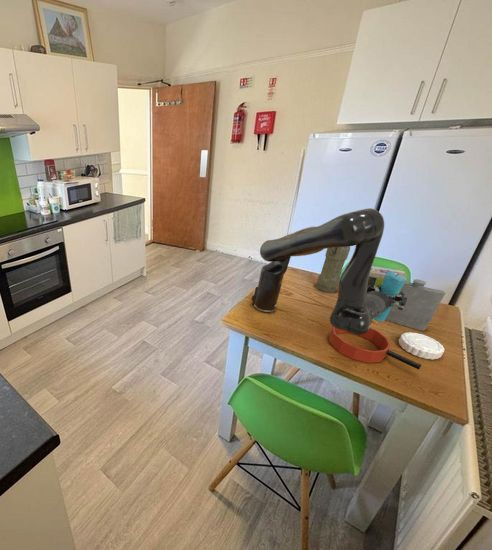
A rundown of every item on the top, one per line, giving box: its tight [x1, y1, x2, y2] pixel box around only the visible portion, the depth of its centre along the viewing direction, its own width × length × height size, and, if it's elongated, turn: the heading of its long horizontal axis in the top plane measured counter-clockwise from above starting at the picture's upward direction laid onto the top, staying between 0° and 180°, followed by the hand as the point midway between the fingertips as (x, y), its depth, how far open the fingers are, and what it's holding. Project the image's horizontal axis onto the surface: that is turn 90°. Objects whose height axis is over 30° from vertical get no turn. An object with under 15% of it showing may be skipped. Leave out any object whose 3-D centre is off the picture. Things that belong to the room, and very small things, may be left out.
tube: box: [373, 270, 408, 322], centre depth 110 cm, size 7×5×19 cm, turn 12°
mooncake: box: [398, 331, 445, 360], centre depth 110 cm, size 12×12×4 cm
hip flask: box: [385, 278, 446, 331], centre depth 120 cm, size 16×4×20 cm, turn 45°
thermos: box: [315, 246, 351, 294], centre depth 143 cm, size 9×12×35 cm
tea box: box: [368, 265, 409, 292], centre depth 138 cm, size 15×10×15 cm, turn 59°
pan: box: [328, 326, 422, 370], centre depth 108 cm, size 26×17×5 cm, turn 34°
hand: (390, 290), depth 111 cm, fingers closed on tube, 5 cm apart
